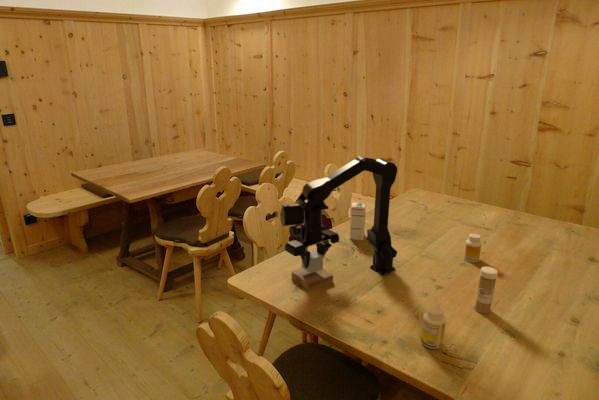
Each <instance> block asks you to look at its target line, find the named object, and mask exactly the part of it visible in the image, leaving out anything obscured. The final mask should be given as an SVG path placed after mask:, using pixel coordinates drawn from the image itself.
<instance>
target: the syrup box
mask: <svg viewBox="0 0 599 400" xmlns="http://www.w3.org/2000/svg"><path fill="white" fill-rule="evenodd" d="M366 206H367V205H366V203H365V202H352V203H351V206H350V220H349V221H350V226H349V239H350V240H357V241H364V239H365V232H366V231H365V230H366V229H365V228H366V227H365V226H366Z"/></svg>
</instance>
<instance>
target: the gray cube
mask: <svg viewBox="0 0 599 400" xmlns="http://www.w3.org/2000/svg"><path fill="white" fill-rule="evenodd" d="M308 251H309V250H308ZM309 252H311V254H310V259H309V265H308V268H305V267H304V264H303V261H302V260H301V268H304V269H305V270H307V271H308V272H310V273H313V272H316V271H318V270H321V269H324V257H323V255H322V254H320V253H318V252H317V250H314V249H312V250H310V251H309Z"/></svg>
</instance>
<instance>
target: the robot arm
mask: <svg viewBox="0 0 599 400" xmlns="http://www.w3.org/2000/svg"><path fill="white" fill-rule="evenodd" d="M364 171H365V172H370V173H372V178H373V181H374V184H375V197H374V198H375V199H374V213H373V214H374V215H373V226H372V227H371V228H368V229H366V233H367V235H366V239H365V240H366V241H367V243H368V244H369V245H370V247H371V248H372V250H374V251H373V255H372V264H371V265H370V266H369V267H370V269H372V270H374V271H376V272H378V273H380V274H381V275H385V274H386V275H387V274H388V273H390V272H392V271H395V270H396V267H394V266H393V264H394V258H396V257H397V254H398V251H397V250H396V249H395V248H394V247H393V246H392V237H391V234H390V230H389V226H388V225H389V215H390V199H391V188H392V187H393V185H394V183H395V182H396V178H397V174H398V165H396V163H394V162H392V161H389V160H388V159H386V158H377V159H375V158H372V157H371V158H370V157H365V156H363V155H358V156H356V157H355V158H354V159H353V160H351V161H349V162H348V163H347V164H345V165H343V166H341V167H340V168H339V169H337V170H335V171H334V172H333V171H332V173H330V174H328V176H325V177H323V178H317V179H315V180H311V181H310V182H307V183H305V184H304V185H303V187H302V191H301V193H300V194H299V196H298V197H297V199H296V200H295V203H292V204H291V203H290V204H289V203H288V204H287V203H286V204H285V203H284V204H281V209H280V212H279V217H280V223H281V226H282V227H289V228H288V233H289V236H291V237H294V238H297V237H298V238H299V239H301V240H302V242H300V241H298V240H296V239H294V240H291V241H288V242H287V241H286V243H284V251H285V252H287V253H289V254H290V255H291V256H294V257H300V258H301V262H302V261H303V264H304V267H305V268H308V265H309V259H310V254H311V252H309V247H311V246H316V252H318V253H320V254H322V255H323V258H324V257H325V255H326V253H327V252H328V251H329V249H330V248H331V247H333V246H332V244H337V243H339V242H340V236H339V234H338V233H337V232H335V231H333V230H331V229H326V230H325V225H323V210H328V209H330V208H329V206H328V205H327V204H326V203H325V201H326V200H327V198H329V197H330V195H331V194H332V193H333V191H334V190H336V189H337V188H339V187H341V186H342V185H343V184H345V183H347V182H349V181H350V180H351V179H353V178H354V177H356V176H359V174H361V173H363V172H364ZM306 201H307V202H306ZM297 225H298V226H297Z"/></svg>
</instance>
